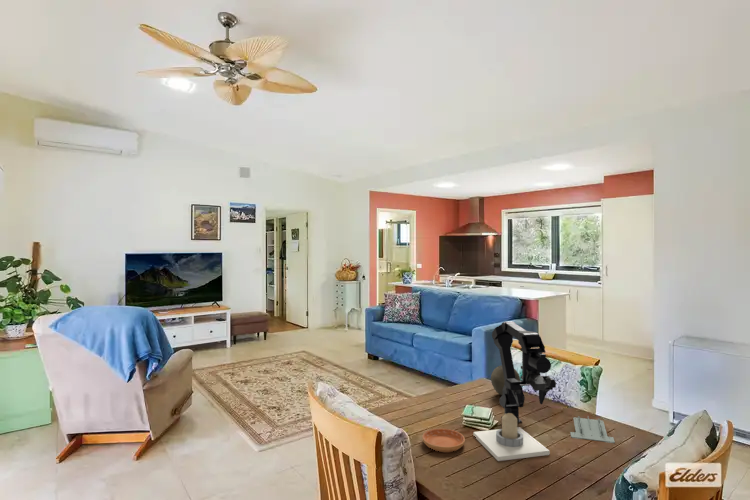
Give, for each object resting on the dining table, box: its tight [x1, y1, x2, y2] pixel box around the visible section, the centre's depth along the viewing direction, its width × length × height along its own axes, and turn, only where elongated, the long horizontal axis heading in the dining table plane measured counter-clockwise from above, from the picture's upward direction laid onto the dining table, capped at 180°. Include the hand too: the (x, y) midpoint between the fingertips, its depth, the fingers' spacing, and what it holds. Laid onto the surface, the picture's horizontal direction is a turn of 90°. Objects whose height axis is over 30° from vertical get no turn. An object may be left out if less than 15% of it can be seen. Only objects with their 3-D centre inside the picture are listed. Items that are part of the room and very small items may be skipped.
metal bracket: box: [570, 415, 616, 444], centre depth 167 cm, size 14×6×15 cm
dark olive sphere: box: [490, 365, 521, 396], centre depth 209 cm, size 14×14×15 cm
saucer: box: [421, 428, 466, 453], centre depth 159 cm, size 16×16×3 cm
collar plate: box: [473, 426, 551, 462], centre depth 158 cm, size 20×20×4 cm
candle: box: [501, 413, 518, 439], centre depth 158 cm, size 6×6×10 cm
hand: (530, 404), depth 164 cm, fingers open, 9 cm apart
